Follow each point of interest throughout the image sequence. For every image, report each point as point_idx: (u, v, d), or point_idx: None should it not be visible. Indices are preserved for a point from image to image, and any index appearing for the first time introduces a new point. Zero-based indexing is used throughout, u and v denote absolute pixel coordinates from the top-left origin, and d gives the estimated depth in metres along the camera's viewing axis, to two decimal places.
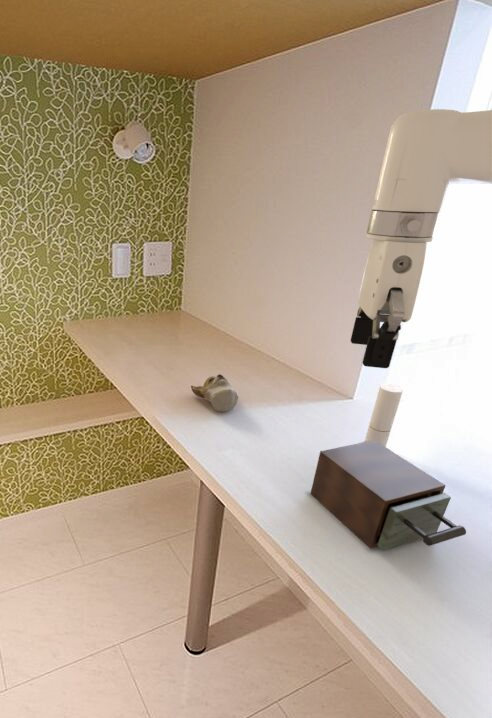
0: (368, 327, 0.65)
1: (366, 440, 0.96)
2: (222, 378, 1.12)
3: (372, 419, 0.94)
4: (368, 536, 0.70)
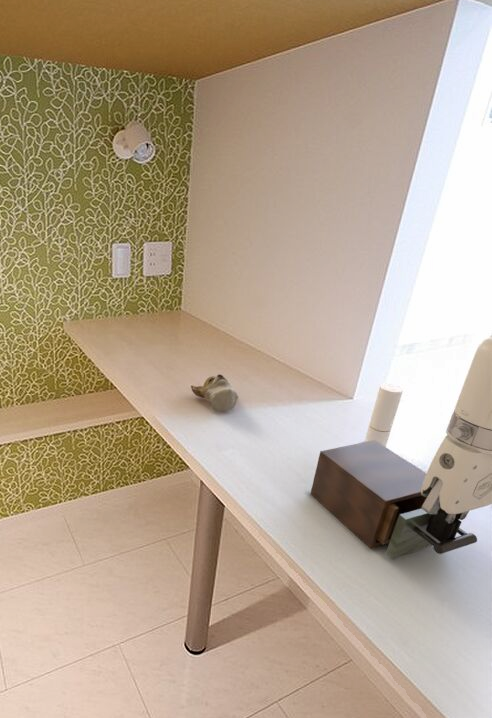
0: None
1: (366, 440, 0.96)
2: (222, 378, 1.12)
3: (372, 419, 0.94)
4: (368, 536, 0.70)
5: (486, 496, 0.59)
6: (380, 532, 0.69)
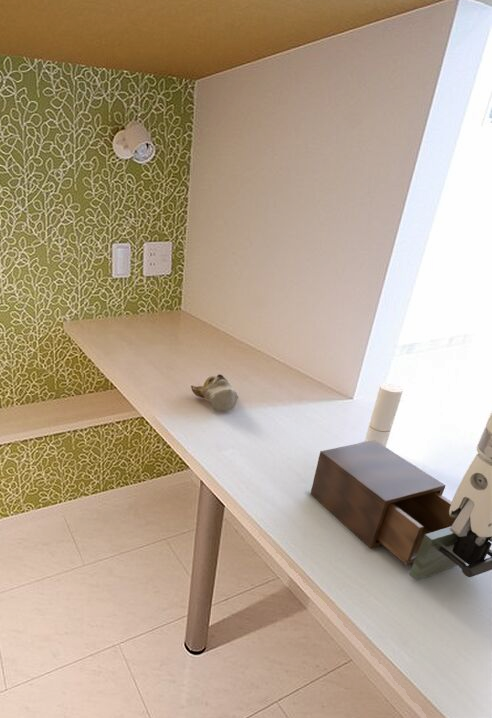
0: None
1: (366, 440, 0.96)
2: (222, 378, 1.12)
3: (372, 419, 0.94)
4: (368, 536, 0.70)
5: None
6: (403, 551, 0.66)
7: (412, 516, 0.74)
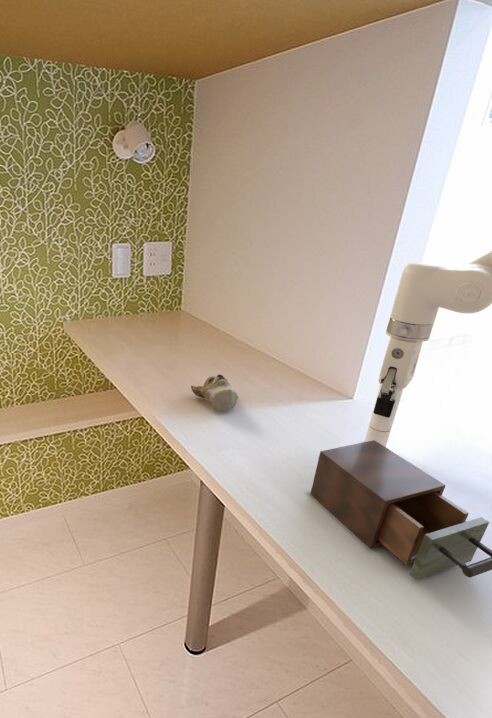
0: None
1: (366, 440, 0.96)
2: (222, 378, 1.12)
3: (372, 419, 0.94)
4: (368, 536, 0.70)
5: (413, 372, 0.88)
6: (403, 551, 0.66)
7: (412, 516, 0.74)
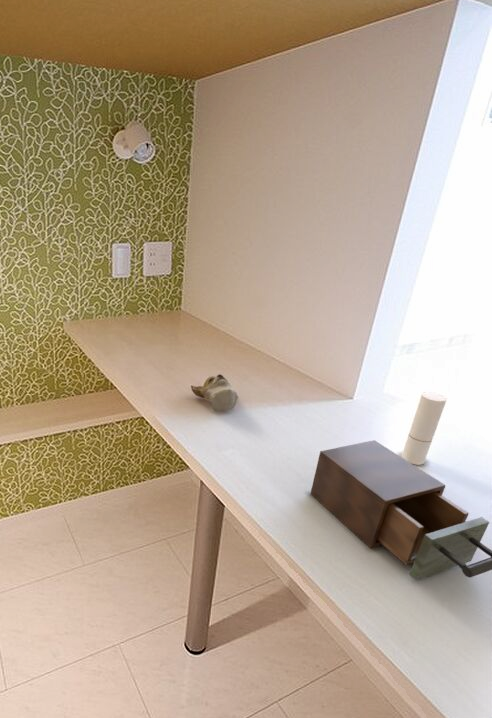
0: None
1: (405, 450, 0.93)
2: (222, 378, 1.12)
3: (413, 429, 0.90)
4: (368, 536, 0.70)
5: None
6: (403, 551, 0.66)
7: (412, 516, 0.74)
